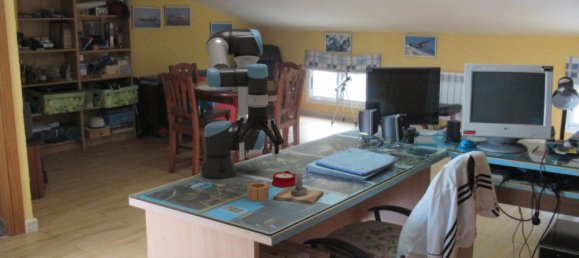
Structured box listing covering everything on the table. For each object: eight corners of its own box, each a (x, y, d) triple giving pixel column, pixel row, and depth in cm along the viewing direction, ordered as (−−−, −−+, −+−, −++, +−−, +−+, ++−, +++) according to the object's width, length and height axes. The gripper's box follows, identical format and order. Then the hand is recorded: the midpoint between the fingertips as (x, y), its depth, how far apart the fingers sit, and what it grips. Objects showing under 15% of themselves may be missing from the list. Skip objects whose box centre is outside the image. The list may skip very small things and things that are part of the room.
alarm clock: (264, 177, 239) (286, 162, 250) (266, 190, 241) (288, 175, 252) (284, 181, 233) (306, 166, 243) (286, 195, 235) (307, 179, 246)
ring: (244, 199, 221) (244, 187, 220) (253, 194, 228) (253, 181, 227) (263, 202, 218) (263, 189, 217) (271, 196, 225) (271, 184, 224)
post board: (273, 199, 222) (273, 176, 220) (285, 189, 233) (285, 167, 232) (312, 204, 216) (313, 180, 214) (323, 194, 228) (323, 171, 226)
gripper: (223, 105, 217) (224, 159, 221) (285, 109, 208) (284, 166, 212) (232, 102, 223) (233, 155, 227) (292, 106, 215) (292, 161, 219)
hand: (258, 160), depth 220 cm, fingers open, 13 cm apart
